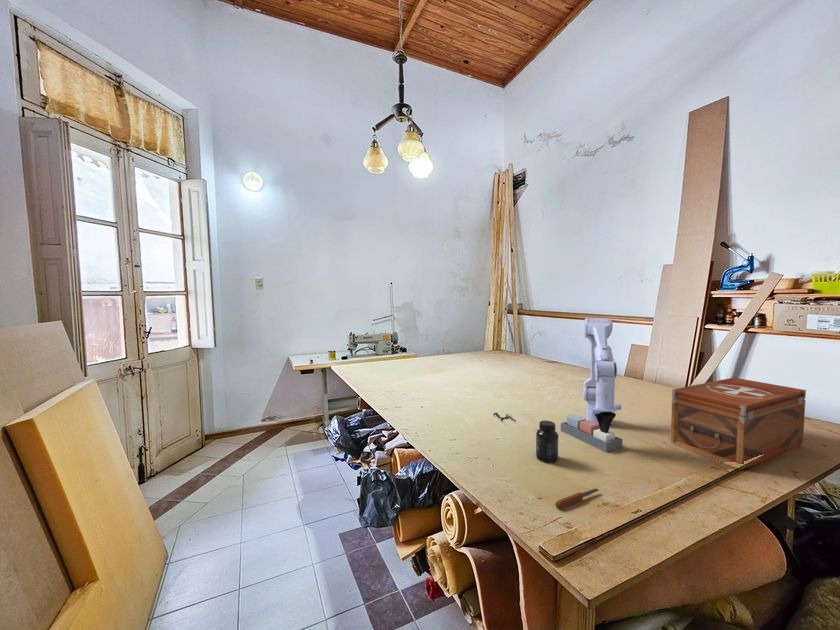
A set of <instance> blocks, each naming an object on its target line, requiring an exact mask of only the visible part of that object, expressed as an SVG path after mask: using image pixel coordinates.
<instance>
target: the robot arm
mask: <svg viewBox="0 0 840 630" xmlns="http://www.w3.org/2000/svg"><path fill="white" fill-rule="evenodd" d="M583 323H584V325H583V330H584V338H586V339H588V340H589V343H590V344H589V345H590V377H589V378H587V379H586V380H583V381H584V382H583V383H582V386H583V387H582V399H583V400H584V401H586V408H585V411H586V415H585V419H586V420H590V421H593V422H595V423H598V424H599V427H600V431H601V432H604V433H608V431H610V428H611V425H614V421H613V420H614V419H615V418H616V415H617V414H616V412H617V411H622V404H620V403H618V402H616V403H615V387H616V386H615V385H616V381H615V379H616V378H617V376H618V366H617V365H618V364H617V362H616V359H614V355H613V350H612V348H611V346H609V345H608V339H609V338H610V336H611V335H612V333H613V328H614V327H613V326H614V325H613V320H612V318H590V317H586V318H584V321H583Z"/></svg>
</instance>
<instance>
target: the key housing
mask: <svg viewBox="0 0 840 630" xmlns="http://www.w3.org/2000/svg"><path fill="white" fill-rule="evenodd" d="M560 432H562V433H565V434H567V435H568V434H569V436H570V437H573V438H575V439H576V440H579V441H581V442H584V443H585V444H588V445H590V446H592V447H594V448H596V449H598V450H601V451H603V452H604V453H609V452H612V451H616V450H619V449H623V438H621V437H618V436H616V435H615V440H611V441H607V442H605V441H603V440H601V439H598V438H596V437H594V436H593V434H589V433H586V432H584V431H582V430H580V428H578V429H577V428H575V427H573V426H570V425H568V424H567V421H563V422H560Z"/></svg>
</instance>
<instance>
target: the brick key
mask: <svg viewBox="0 0 840 630" xmlns="http://www.w3.org/2000/svg"><path fill="white" fill-rule="evenodd" d="M597 429H600V427H599V424H598V423H595V422H593V421H590V420H586V421H581V422H580V430H582V431H584V432H586V433H589V434H593V432H594V430H597Z"/></svg>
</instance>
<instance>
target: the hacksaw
mask: <svg viewBox="0 0 840 630" xmlns="http://www.w3.org/2000/svg"><path fill="white" fill-rule="evenodd" d="M498 414H499V413H498V412H494V413H493V416H495V415H496V416H497V417H498V418H497V417H496V416H495V417H496V418H497V419H499V420H500V419H501V420H502V421H503V420H505V419H504V418H506V419H509V418H510V419H511V420H510V419H509V420H510V421H512V420H513V421H515V422H516V421H517V420H515V419H514V418H513V416H512V414H510V413H507V414H505V416H504V417H501V415H498ZM508 414H510V415H511V416H510V415H508ZM501 420H500V421H501ZM502 421H501V422H502ZM513 421H512V422H513ZM515 422H514V423H515Z"/></svg>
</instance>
